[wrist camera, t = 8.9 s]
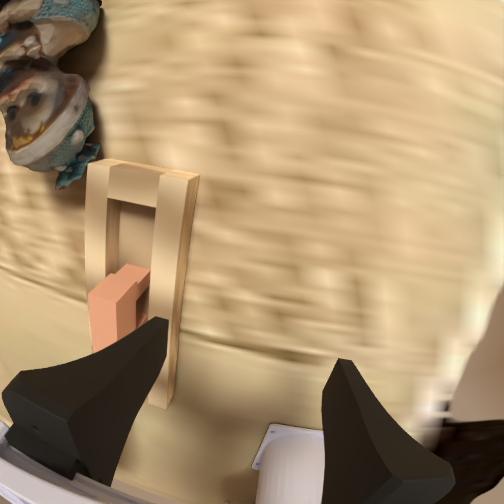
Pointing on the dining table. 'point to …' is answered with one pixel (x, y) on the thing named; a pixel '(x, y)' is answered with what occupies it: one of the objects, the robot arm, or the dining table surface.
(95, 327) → the tall salmon pink block
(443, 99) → the dining table surface
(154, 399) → the rail
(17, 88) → the figurine
